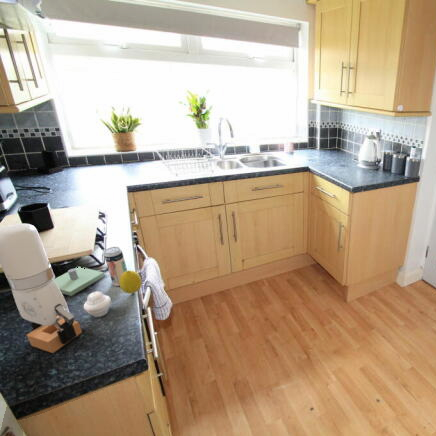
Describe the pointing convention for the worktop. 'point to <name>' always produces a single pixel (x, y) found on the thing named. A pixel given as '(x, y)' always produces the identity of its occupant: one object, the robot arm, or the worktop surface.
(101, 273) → the board
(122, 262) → the beer can
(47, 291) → the robot arm
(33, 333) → the orange block with hole
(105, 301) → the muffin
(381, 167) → the worktop surface
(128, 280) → the lemon
